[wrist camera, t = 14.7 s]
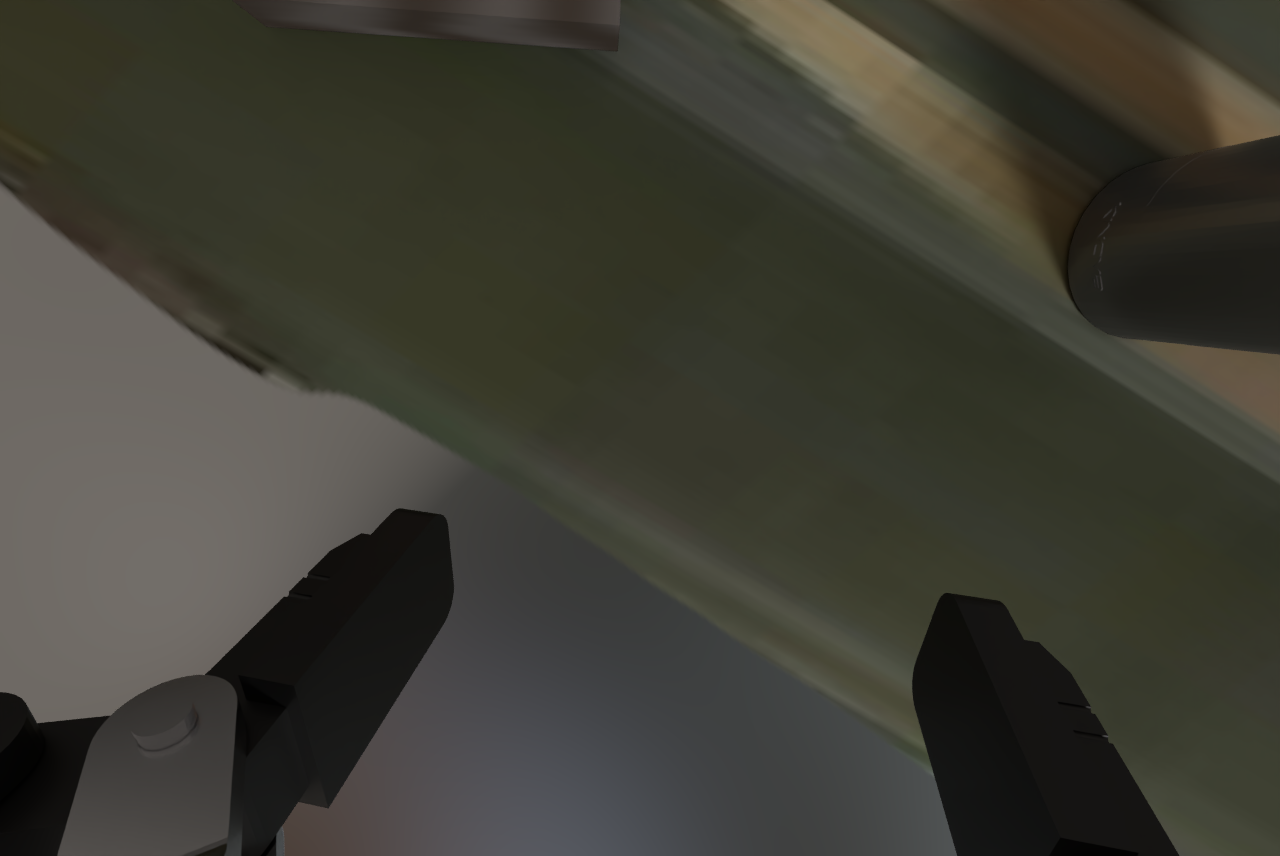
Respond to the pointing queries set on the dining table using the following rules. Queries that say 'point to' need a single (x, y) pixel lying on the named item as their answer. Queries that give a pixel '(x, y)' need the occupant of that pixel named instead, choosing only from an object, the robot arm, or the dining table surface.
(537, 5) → the plinth
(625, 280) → the dining table surface
